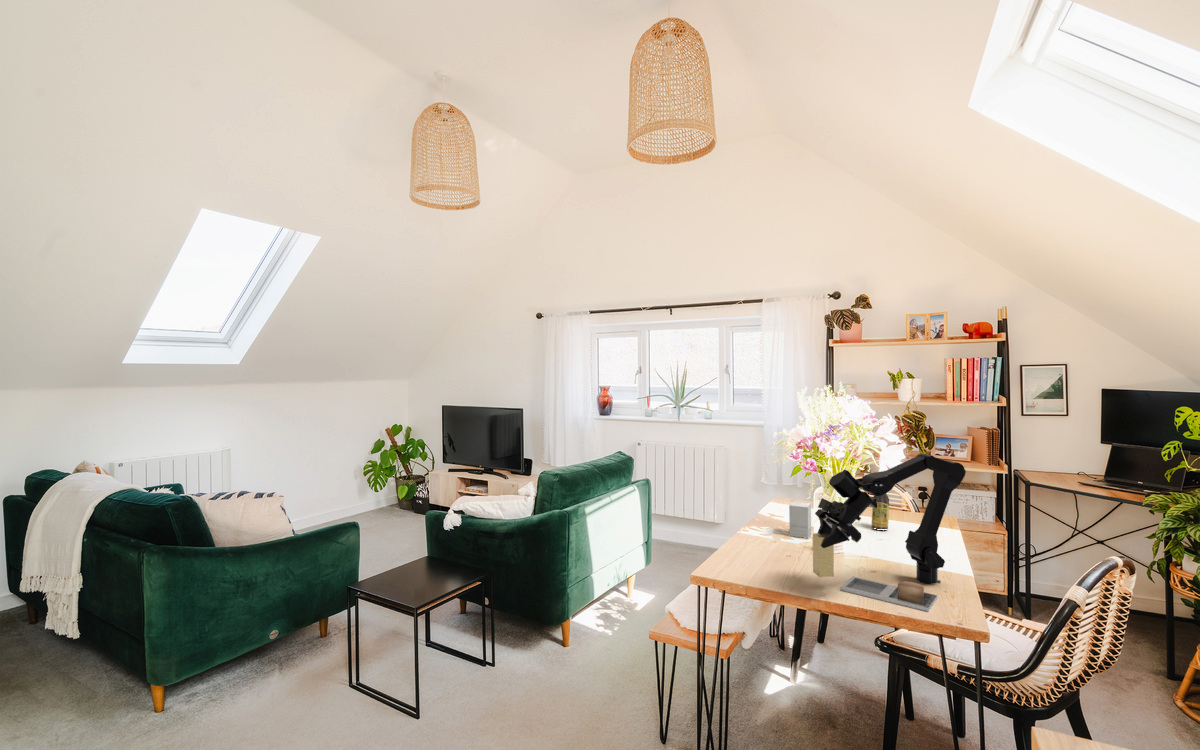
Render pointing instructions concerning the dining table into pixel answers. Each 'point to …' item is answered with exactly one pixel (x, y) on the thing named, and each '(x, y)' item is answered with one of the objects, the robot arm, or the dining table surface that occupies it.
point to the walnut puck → (911, 592)
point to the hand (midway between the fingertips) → (818, 544)
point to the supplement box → (800, 519)
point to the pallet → (884, 593)
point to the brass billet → (822, 556)
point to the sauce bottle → (880, 512)
